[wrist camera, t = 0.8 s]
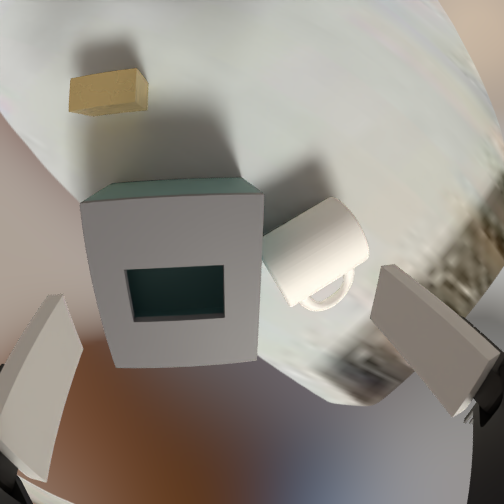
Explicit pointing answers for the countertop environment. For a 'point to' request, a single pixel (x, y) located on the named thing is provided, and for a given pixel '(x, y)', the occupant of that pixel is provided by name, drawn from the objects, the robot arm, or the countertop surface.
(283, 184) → the countertop surface
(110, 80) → the gold block
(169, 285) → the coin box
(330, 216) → the mug
